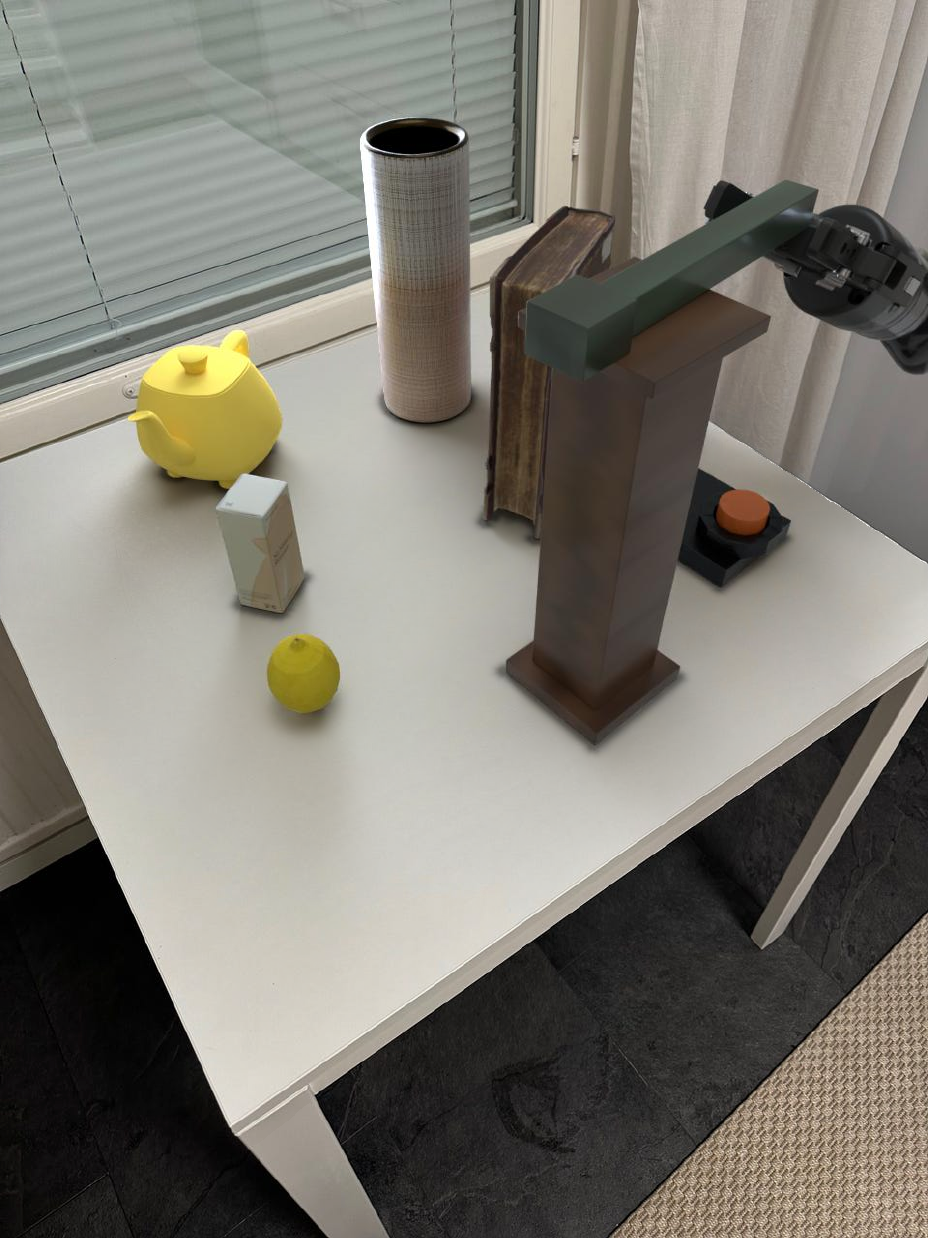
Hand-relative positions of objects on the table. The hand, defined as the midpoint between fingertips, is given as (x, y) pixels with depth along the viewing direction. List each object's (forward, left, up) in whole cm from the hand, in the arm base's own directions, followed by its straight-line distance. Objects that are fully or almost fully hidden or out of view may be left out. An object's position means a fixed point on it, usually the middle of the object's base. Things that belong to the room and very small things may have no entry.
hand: (766, 216), depth 53 cm
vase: (+40, -5, -35) cm, 53 cm away
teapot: (+46, +19, -35) cm, 60 cm away
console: (+5, -10, -34) cm, 36 cm away
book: (+20, -4, -35) cm, 40 cm away
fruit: (+13, +30, -35) cm, 47 cm away
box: (+26, +25, -35) cm, 50 cm away
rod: (0, +6, -2) cm, 7 cm away
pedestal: (0, +11, -34) cm, 36 cm away
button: (+1, -10, -31) cm, 32 cm away
